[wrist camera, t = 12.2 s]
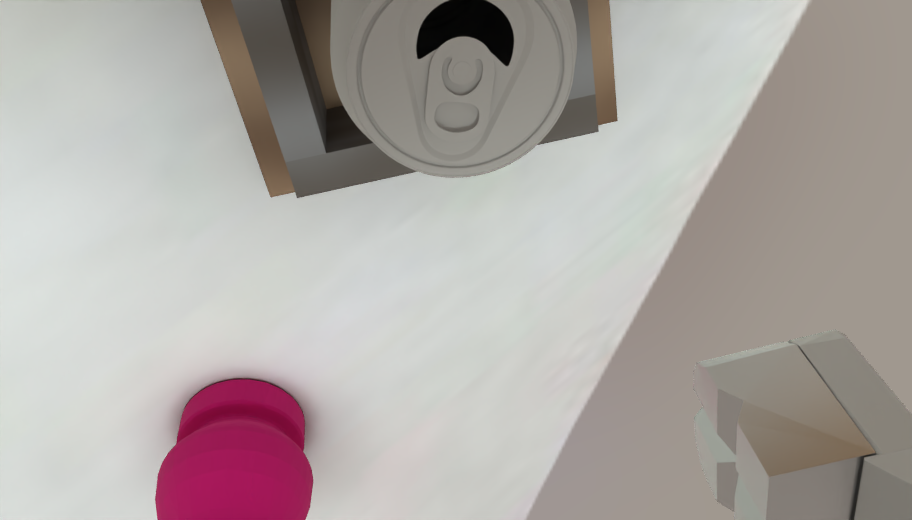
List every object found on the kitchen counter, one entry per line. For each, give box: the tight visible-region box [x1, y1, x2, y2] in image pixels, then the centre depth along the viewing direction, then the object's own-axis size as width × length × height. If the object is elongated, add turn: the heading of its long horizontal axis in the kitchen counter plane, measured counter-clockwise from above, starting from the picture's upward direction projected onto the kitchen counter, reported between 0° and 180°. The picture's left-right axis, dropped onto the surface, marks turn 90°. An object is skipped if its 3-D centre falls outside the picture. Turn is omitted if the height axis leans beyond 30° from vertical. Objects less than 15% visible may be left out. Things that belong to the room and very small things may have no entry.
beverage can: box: [330, 0, 577, 178], centre depth 25 cm, size 6×6×12 cm
